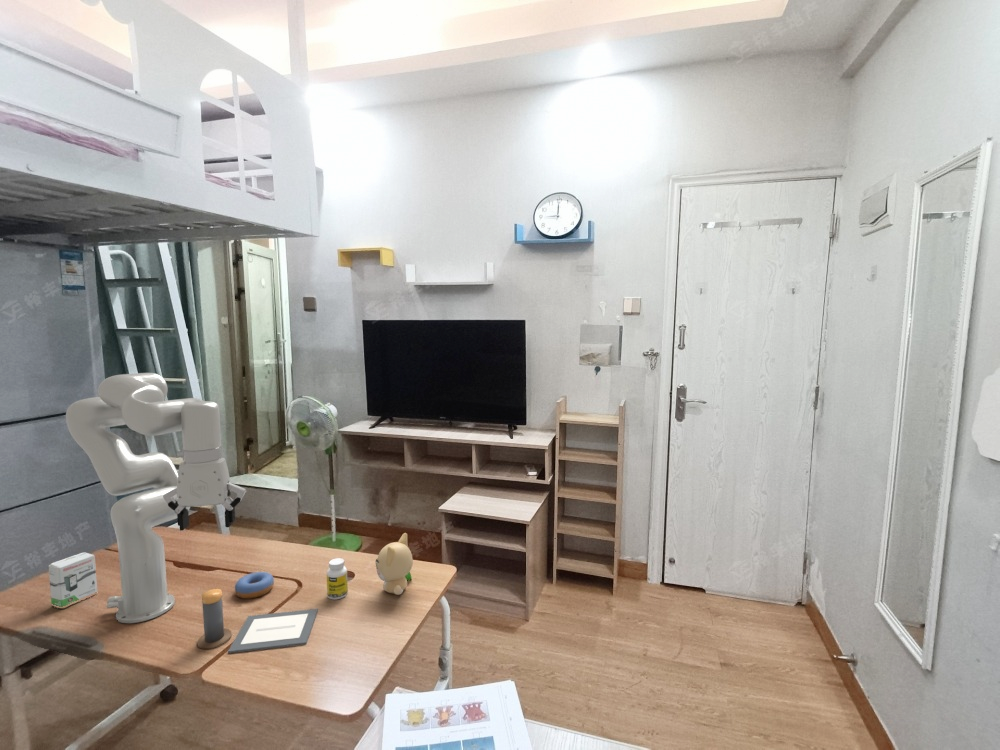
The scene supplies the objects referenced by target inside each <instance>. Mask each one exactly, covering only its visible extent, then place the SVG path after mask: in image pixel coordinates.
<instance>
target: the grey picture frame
mask: <svg viewBox="0 0 1000 750" xmlns="http://www.w3.org/2000/svg"><path fill="white" fill-rule="evenodd" d="M318 611H319V608H313V609H302V610H295V611H294V610H293V611H285V612H283V611H282V612H276V613H274V612H273V613H264V614H255V615H248V616H247V618H246V619H245V622H243V625H242V626H241V628H240V630H239V632H238V633H237V635H236V637H235V638H234V640H233V642H232V644H231V645H230V647H229V648H228V650H227V654H234V653H243V652H250V651H251V652H252V651H261V650H268V649H269V650H270V649H276V648H277V649H278V648H284V647H285V648H286V647H293V646H294V647H295V646H303V645H307V644H308V641H309V638H310V635H311V632H312V629H313V626H314V624H315V619H316V617H317V614H318Z"/></svg>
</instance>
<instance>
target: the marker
mask: <svg viewBox="0 0 1000 750" xmlns="http://www.w3.org/2000/svg"><path fill="white" fill-rule="evenodd" d="M201 604H202V616H203V617H202V619H203V632H204V633H203V635H204V636H205V642H207V643H212V642H216V641H218V640H220V639H222V638H223V637H224V628H225V627H224V626H225V624H224V609H223V590H222V589H220V588H212V589H209V590H206V591H205V592H203V593H202V594H201Z"/></svg>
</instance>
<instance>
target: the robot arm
mask: <svg viewBox="0 0 1000 750" xmlns="http://www.w3.org/2000/svg"><path fill="white" fill-rule="evenodd" d="M168 390H169V389H168V384H167V382H166V380H165V378H164V377H163V376H161V375H159V374H157V373H155V372H138V373H123V374H116V375H112V376H109V377H107V378H104V379H103V380H102V381H101V383H100V384H99V385H98V387H97V395H98V396H95V397H87V398H84V399H79V400H77V401H74V402H73V403H71V404H70V405H69V406H68V407H67V409H66V412H65V421H66V426H67V430H68V431H69V433H70V436H71V437H72V439H73V440H74V441H75V442H76V443H77V445H78V446H79V447H80V448H81V449H83V451H84V452H85V454H86V455H87V456H88V458H89V459H90V462H91V464H92V466H93V468H94V470H95V472H96V474H97V477H98V479H99V480H100V483H101V485H102V487H103V488H104V490H105V491H106V492H107V493H108V494H109V495H111V496H124V495H126V496H124V497H122V498H120V499H118V500H117V501H116V502H115V503H113V505H112V506H111V509H110V512H109V513H110V520H111V524H112V526H113V530H114V533H115V538H116V543H117V548H118V549H117V552H118V562H119V572H120V583H121V585H120V586H121V595H119V596H118V595H114V596H109V597H108V598H107V600H106V609H115V608H117V611H116V612H115V619H116V621H117V620H118V621H117V622H119V623H122V624H136V623H141V622H145V621H146V622H147V621H149V620H152V619H155V618H157V617H159V616H161V615H164V614H165V613H167V612H168V611H169V610H171V608H172V607H173V606H174V605H175V602H176V601H175V600H176V599H175V598H176V597H175V595H173V594H171V593H168V584H167V570H166V555H165V545H164V544H165V543H164V540H163V538H162V536H160V535H159V534H158V533H156V532H155V531H154V530H153V528H154V527H157V526H158V525H161V524H164V523H167V522H170V521H174V520H176V519H177V526H178V527H179V531H182V532H183V531H184V530H186V529H187V528H188V527H189V526H190V515H189V514H190V513H189V511H190V510H191V507H207V506H218V505H222V506H223V507H224V508H225V511H224V523H225V525H224V526H225V528H230V527H231V526H232V525H233V524H234V523H235V521H236V508H235V507H236V506H237V505H238V504H239V503H240V502H241V501H242V500H243V498H244V496H245V494H246V493H247V489H246V488H245V487H242V486H239V485H237V484H235V483H232V482H231V477H230V472H229V468H228V464H227V461H226V458H225V457H223V454H222V453H223V451H222V438H221V437H222V433H221V416H220V412H221V411H220V406H219V404H218V403H217V402H215V401H210V400H206V401H205V400H203V399H200V398H197V397H188V398H179V399H170V400H165V399H166V397H167V395H168ZM124 425H126V426H127V427H128V428H129V429H130V430H131V431H135V432H136V433H138V434H140V435H143V436H150V437H153V436H155V437H156V436H161V435H167V434H173V433H176V432H181V436H182V449H181V450H177V452H176V456H177V458H182V462H180V463H179V466H178V470H177V468H176V466H175V464H174V462H173V461H172V459H171V458H170V456H169V455H167V454H165V453H163V452H157V451H156V452H148V453H142V454H138V455H137V454H135V453H133V452H132V450H131V448H130V446H129V444H128V442H127V441H126V440H125V439H123V438H122V437H121V436H119V435H118V434H116V433H114V432H112V431H110V430H108V429H106V428H111V427H117V426H118V427H119V426H124ZM151 488H152V489H151ZM143 490H144V491H143ZM232 492H233V493H235V494H236V497H235V498H234V499H233V498H232V497H231V495H232ZM128 494H129V495H128ZM127 495H128V496H127Z"/></svg>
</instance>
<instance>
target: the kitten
mask: <svg viewBox="0 0 1000 750" xmlns="http://www.w3.org/2000/svg"><path fill="white" fill-rule="evenodd" d="M408 544H409V543H408V533H406V532H404V533H402V535H401V537H400V538H399V539H398V541H395V542H390V543H388V544H386V545H385V546H384V547H382V549H381V550H380V551H379V552H378V555H377V558H376V559H375V567H376V568H375V569H376V574H377V577H378V578H379V579H380V580H382V581H383V585H382V589H383V591H385V592H387V593H389V594H394V595H396V596H399V595H401V594H403V592H404V590H405V589H406V588H407V586H408V581H407V580H409V581H411V580H412V578H413V577H412V575H411V570H412V568H413V563H414V560H413V554H412V551H411V550H410V548H409V545H408ZM406 578H407V579H406ZM410 579H411V580H410Z"/></svg>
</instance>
